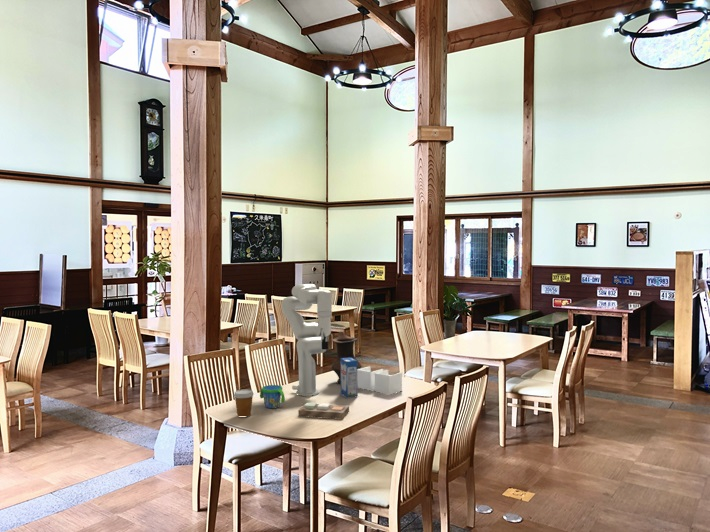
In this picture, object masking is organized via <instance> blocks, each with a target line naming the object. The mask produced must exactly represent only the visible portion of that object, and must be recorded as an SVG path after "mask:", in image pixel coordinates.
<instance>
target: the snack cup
mask: <svg viewBox="0 0 710 532" xmlns="http://www.w3.org/2000/svg"><path fill="white" fill-rule="evenodd" d="M259 397H260V399H263V402H264V403H263V404H264V408H267V409H276V408H275V407H277V408H279V407H280V405H281V404H282V403H284V402H285V399H286V397H285V393H284V391H283V386H281V385H280V384H279V385H278V384H269V385H265V386H262V388H261V389H260V392H259Z"/></svg>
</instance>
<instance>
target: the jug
mask: <svg viewBox="0 0 710 532" xmlns="http://www.w3.org/2000/svg"><path fill="white" fill-rule="evenodd" d="M358 340H359V339H358V338H357V337H352V336H348V335H346V333H345V332H344V331H339V332H338V336H337V337H334V338H333V339H332V340H331V341H332V343H333V344H335V345H336V359H335V360H334V361H333V363H332V364H331V367H330V368H331V370H332V371H333V372H334V373H335V374H336V376H337V378H338V379H337V381H336V383H337V384H339V385H341V365H340V358H350V357H351V358H353V359H355V360H357V358H356V357H355V355H354V346H355V342H357V341H358ZM361 368H363V367H362V365H361V362H360V361H359V360H357V369H361Z"/></svg>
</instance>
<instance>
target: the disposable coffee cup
mask: <svg viewBox="0 0 710 532" xmlns="http://www.w3.org/2000/svg"><path fill="white" fill-rule="evenodd" d="M233 396H234V400H235V401H234V402H235V407H236V413H237V417H238V416H249V415H252V407H253V406H252V405H253V397H254V392H253V389H247V388H245V389H237V390H235V391H234V394H233ZM249 417H250V416H249Z"/></svg>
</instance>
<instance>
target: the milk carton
mask: <svg viewBox="0 0 710 532" xmlns="http://www.w3.org/2000/svg"><path fill="white" fill-rule="evenodd" d="M340 365H341V384H340V395H342V396H343V397H345V398H346V397H347V399H349V398H348V397H351V398H356V397H355V396H358V390H359V388H358V386H357V360H355V359H353V358H351V357H350V358H340ZM358 397H359V396H358Z"/></svg>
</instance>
